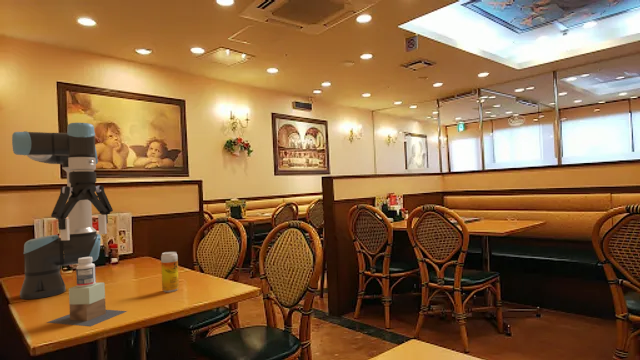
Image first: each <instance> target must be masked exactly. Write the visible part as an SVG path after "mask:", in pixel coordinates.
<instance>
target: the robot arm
mask: <svg viewBox="0 0 640 360" xmlns="http://www.w3.org/2000/svg"><path fill="white" fill-rule="evenodd" d="M66 130H67V131H66V132H41V131H38V132H37V131H27V130H25V131H14V132H13V133H12V135H11V136H12V137H11V142H12V143H11V145H12V152H13V154H14V155H18V156H26V157H27V158H29V159H30V160H32V161H35V162H38V163H44V164H50V165H61V166H62V167H61V168H62V170H64V171H65V172H66V185H67V186H61V187H60V191H59V193H60V194H59V195H58V198H57V201H56V203H55V205H54V207H53V210H52V212H51V214H50V217H51V218H55V219H56V220H58V221H57V222H58V227H57V228H58V230H59V231H60V236H59V235H58V234H51V235H46V236H40V237H36V238H31V239H29V240H27V241H26V242H24V245H23V255H24V279H23V283H22V285H21V288H20V291H19V298H20V299H22V300H35V299H43V298H48V297H53V296H56V295H61V294H63V293H64V292H66V291H67V290H66V284H65V282H64V278H63V277H62V274H61V269H60V268H61V267H62V266H72V265H79V263H78V259H79V258H82V257H92V258H93V261H92V263H93V262H96V261H97V260H98V259H99V256H100V249H101V239H102V238H101V235H107V234H108V233H107V232H108V230H107V229H108V227H107V225H108V223H109V219H108V217H109V216H108V215H110V214H111V213H112V212H113V210H114V209H113V207H112V206H111V203H110V201H109V198H108V197H107V194H106V193H105V186H104V185H96V183H97V172H96V171H95V170H96V169H97V168H96V167H97V166H96V165H97V164H98V162H99V160H98V153H97V148H96V138H95V137H96V132H95V126H94V125H93V124H92V123H88V122H70V123H68V124H67V129H66ZM92 206H93V207H94V208H95V209H96V210H97V211H98V212H99V214H98V215H97V219H98V233H97V229H95V228H94V227H93V212H92V210H93V209H92Z"/></svg>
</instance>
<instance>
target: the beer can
mask: <svg viewBox="0 0 640 360" xmlns="http://www.w3.org/2000/svg"><path fill="white" fill-rule="evenodd" d="M178 259H179V258H178V254H177V251H165V252H162V253H161V256H160V263H161V286H162V287H161V288H162V291H163V292H164V293H174V292H176V291H178V290H179V288H180V286H179V285H180V284H179V283H180V282H179V261H178Z"/></svg>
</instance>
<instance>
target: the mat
mask: <svg viewBox="0 0 640 360" xmlns="http://www.w3.org/2000/svg"><path fill="white" fill-rule="evenodd" d="M127 312H128V310H118V309H117V310H114V309H106V314H104V315H101V316H99V317H96V318H93V319H91V320H88V321H80V320H70V313H69V314H66V315H63V316H60V317H58V318H55V319H52V320H50V321H46V323H48V324H60V325H71V326H81V327H93V326H95V325H98V324H101V323H103V322H105V321H107V320H110V319H113V318H114V317H117V316H119V315H122V314H125V313H127Z"/></svg>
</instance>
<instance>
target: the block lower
mask: <svg viewBox="0 0 640 360" xmlns="http://www.w3.org/2000/svg"><path fill="white" fill-rule="evenodd" d="M68 306H69V314H70V320H80V321H88V320H91V319H93V318H96V317H99V316H101V315H104V314H106V310H107V307H106V297H105V298H103V299H101V300H99V301H96V302H94V303H91V304H69V305H68Z"/></svg>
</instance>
